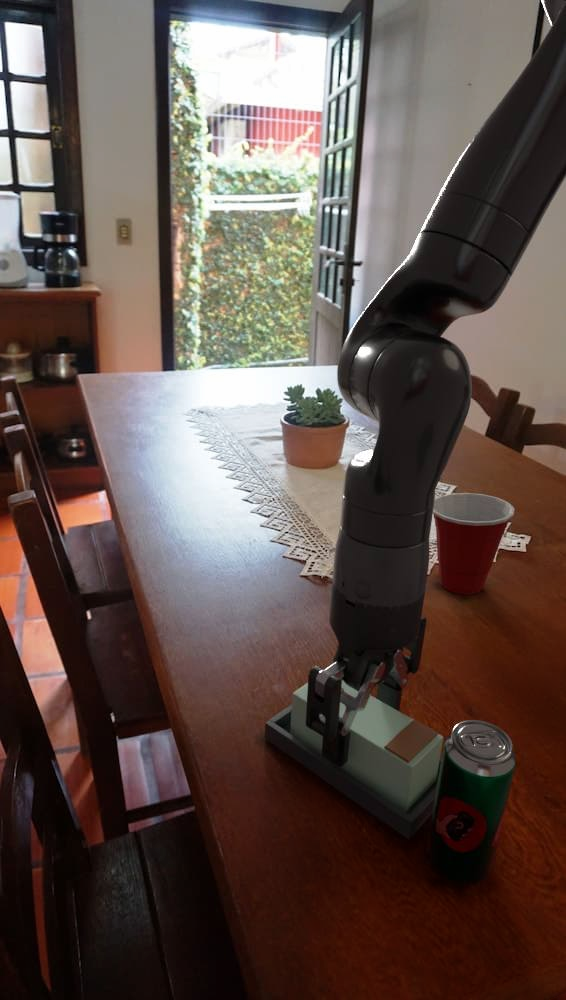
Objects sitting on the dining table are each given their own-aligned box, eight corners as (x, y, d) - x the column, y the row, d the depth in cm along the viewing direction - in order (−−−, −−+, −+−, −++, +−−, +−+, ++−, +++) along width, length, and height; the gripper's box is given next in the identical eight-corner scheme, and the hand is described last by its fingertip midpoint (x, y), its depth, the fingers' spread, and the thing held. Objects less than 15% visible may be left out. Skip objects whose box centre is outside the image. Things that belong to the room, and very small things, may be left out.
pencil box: (289, 735, 65) (292, 690, 63) (322, 710, 68) (326, 667, 66) (405, 813, 57) (412, 765, 55) (436, 780, 60) (444, 734, 58)
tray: (319, 698, 71) (320, 683, 70) (459, 784, 61) (462, 768, 60) (264, 738, 65) (265, 722, 64) (408, 840, 55) (411, 822, 54)
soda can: (501, 887, 51) (530, 765, 47) (435, 890, 51) (458, 767, 46) (478, 831, 56) (503, 715, 51) (418, 833, 56) (437, 716, 51)
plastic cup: (434, 558, 101) (445, 482, 96) (508, 579, 96) (523, 500, 91) (407, 588, 92) (418, 507, 88) (487, 613, 87) (502, 528, 83)
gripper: (390, 537, 63) (373, 683, 69) (285, 592, 53) (277, 757, 59) (464, 566, 58) (438, 719, 64) (364, 632, 48) (345, 806, 55)
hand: (361, 737), depth 62 cm, fingers open, 7 cm apart
